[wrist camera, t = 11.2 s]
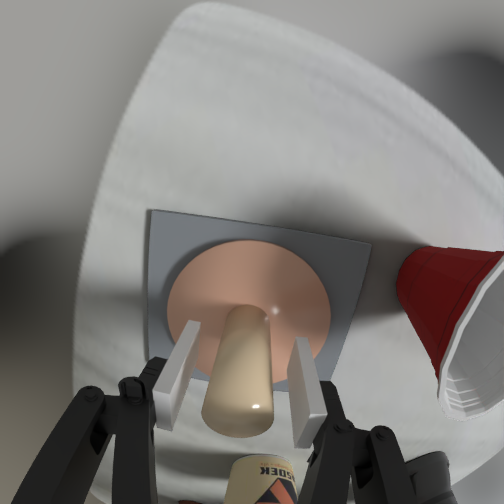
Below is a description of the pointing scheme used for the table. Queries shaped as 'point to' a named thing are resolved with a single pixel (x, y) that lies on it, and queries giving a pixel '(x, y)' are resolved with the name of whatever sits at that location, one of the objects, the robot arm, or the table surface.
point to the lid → (247, 326)
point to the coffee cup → (261, 481)
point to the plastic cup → (459, 323)
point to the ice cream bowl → (188, 502)
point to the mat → (222, 230)
